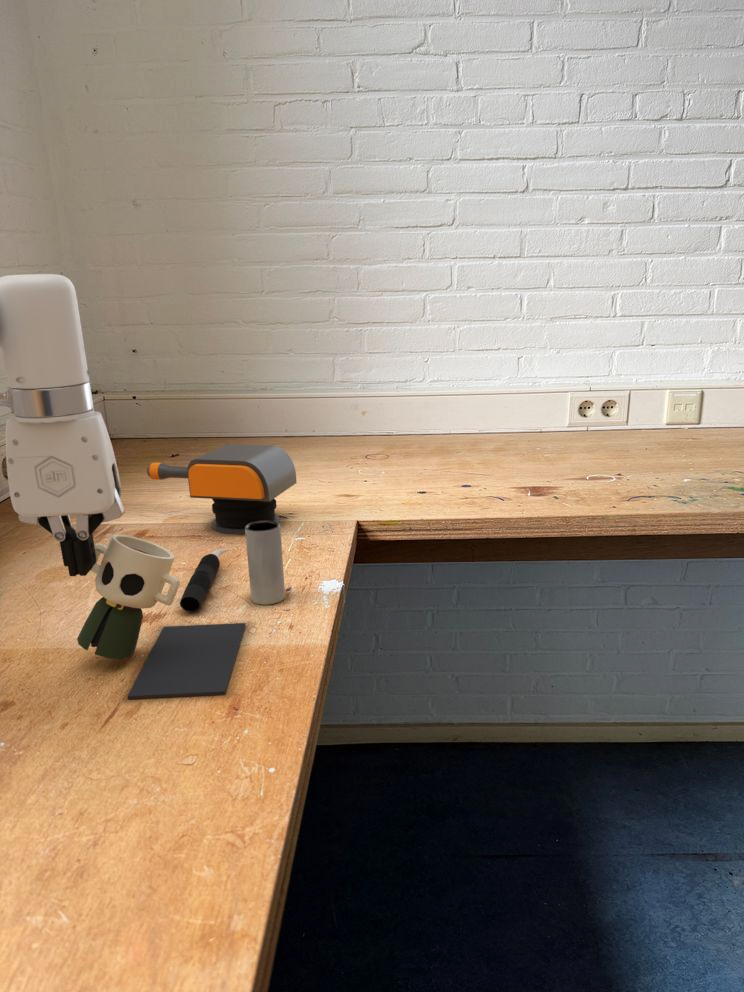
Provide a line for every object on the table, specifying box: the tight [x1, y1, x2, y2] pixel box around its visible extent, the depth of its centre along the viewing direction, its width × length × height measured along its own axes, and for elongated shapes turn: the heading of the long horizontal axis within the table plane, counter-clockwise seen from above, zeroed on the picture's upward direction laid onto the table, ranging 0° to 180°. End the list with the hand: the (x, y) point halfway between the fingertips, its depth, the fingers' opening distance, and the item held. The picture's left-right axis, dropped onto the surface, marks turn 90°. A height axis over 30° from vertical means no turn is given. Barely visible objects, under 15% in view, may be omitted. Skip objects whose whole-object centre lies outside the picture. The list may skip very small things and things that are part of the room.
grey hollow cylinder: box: [244, 521, 286, 606], centre depth 106 cm, size 4×4×10 cm
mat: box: [126, 622, 247, 700], centre depth 91 cm, size 10×17×1 cm, turn 4°
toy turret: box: [146, 443, 297, 535], centre depth 139 cm, size 15×25×13 cm, turn 76°
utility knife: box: [179, 548, 234, 613], centre depth 112 cm, size 22×4×3 cm, turn 3°
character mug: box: [76, 533, 181, 661], centre depth 89 cm, size 11×7×13 cm, turn 75°
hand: (81, 571), depth 87 cm, fingers closed
